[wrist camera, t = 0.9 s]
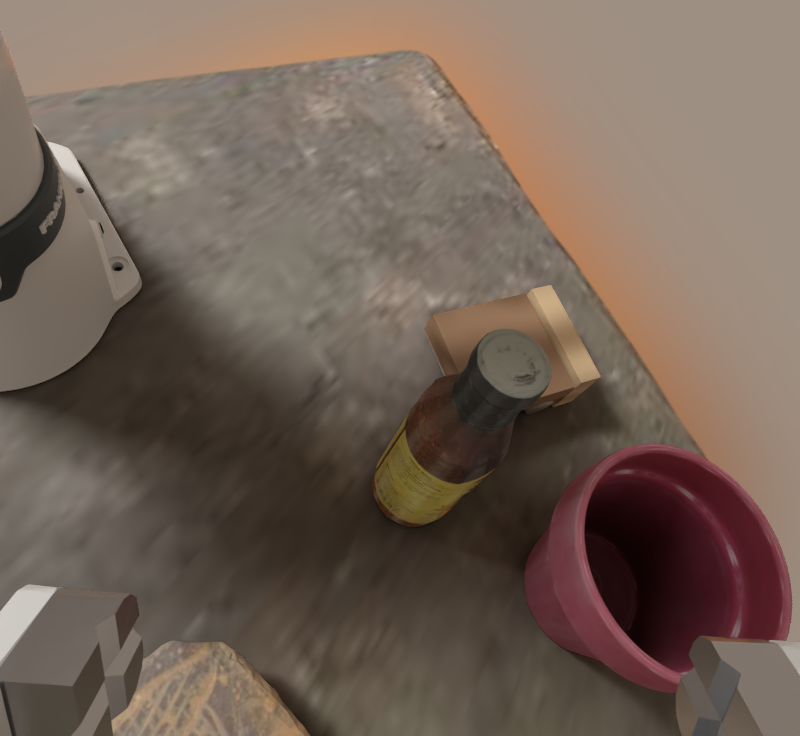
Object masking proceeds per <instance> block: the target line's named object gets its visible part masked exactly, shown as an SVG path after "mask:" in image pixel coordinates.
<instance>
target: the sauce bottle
mask: <svg viewBox="0 0 800 736" xmlns="http://www.w3.org/2000/svg"><path fill="white" fill-rule="evenodd" d="M551 376H552V368H551V363H550V360H549V358H548V356H547V354H546V353H545V351H544V349H543V348H542V347H541V346H540V345H539V344H538V343H537V342H536V341H535V340H534V339H533V338H531V337H530V336H529V335H527V334H525V333H523V332H521V331H518V330H514V329H498V330H494V331H492V332H490V333H487V334H486V335H485V336H484V337H483V338H482V339H481V340H480V342H479V343H478V344H477V345H476V347H475V348H474V349H473V351H472V352H471V354H470V358H469V361H468V364H467V366H466V368H465V369H464V371H462V372H461V373H460V374H450V375H447V376H444V377H441V378H439V379H436V380H435V382H434V383H433V384H432V385H430V386H429V387H428V388H427V389H426V391H425V392H424V393H423V395H422V396H421V398H420V400H419V401H418V402H417V403H416V404H415V405H414V406H413V407H412V409H411V410H410V412H409V413H408V415H407V417H406V418H405V420H404V421H403V423H402V425H401V426H400V428H399V430H398V431H397V433H396V434H395V436H394V437H393V439H392V441H391V442H390V444H389V445H388V447H387V449H386V450H385V452H384V454H383V455H382V457H381V458H380V460H379V462H378V464H377V466H376V471H375V474H374V476H373V480H372V487H373V494H374V498H375V499H376V502H377V504H378V506H379V508H380V509H381V511H382V512H383V513H384V515H386V516H387V517H388V518H389V519H391V520H393V521H395V522H396V523H398V524H400V525H404V526H408V527H418V526H422V525H425V524H427V523H429V522H433V521H435V520H437V519H440V518H441V517H442V516H444V515H445V514H446V513H447V512H448V511H449V510H450V509H451V508H452V507H453V506H454V505H455V504H457V503H458V502H459V501H460V500H461V499H462V498H463V497H465V496H466V495H467V494H468V493H469V492H470V491H471V490H472V489H473V488H474V487H476V486H477V485H478V484H479V483H480V482H481V481H482V480H483V479H484V478H485V477H486V476H488V475H489V474H490V473H491V472H492V471H493V470H494V469H495V468H496V467H497V466H498V465H499V464H500V463H501V462H502V460H503V459H504V458H505V456H506V454H507V452H508V450H509V447H510V443H511V438H512V432H513V427H514V422H515V418H516V417H517V415H518V414H519V413H520V412H521V411H522V410H523V409H525V408H527V407H528V406H530V405H533V404H534V403H535V402H536V401H537V400H538V399H539V398H540V396H542V394H543V393H544V392H545V390H546V389H547V387H548V385H549V383H550V379H551Z"/></svg>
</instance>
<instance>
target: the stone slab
mask: <svg viewBox="0 0 800 736" xmlns="http://www.w3.org/2000/svg"><path fill="white" fill-rule="evenodd" d="M111 723H112V730H113V736H311V735H310V734H309V733H308V732H307V730H306V729H305V727H304V726H303V725H302V724H301V723H300V722H299V721H298V720H297V718H296V717H295V716H294V714H293V713H292V711H291V710H290V709H289V708H288V707H287V706H286V705H285V704H284V702H283V701H282V700H281V698H280V697H279V695H278V693H277V691H276V690H275V689H274V688H273V687H271V686H270V685H269V684H268V683H267V682H266V681H265V680H264V679H263V678H262V676H261V675H260V674H259V673H258V672H257V671H256V670H255V669H254V667H253V666H252V665H251V664H250V663H249V662H248V661H247V660H246V658H245V657H244V656H242V655H241V654H239V653H238V652H236V651H234V650H232V649H231V648H230V647H229V646H228V645H227V644H225V643H223V642H204V643H195V642H186V641H176V640H172V641H170V642H167V643H165V644H164V645H162V646H161V647H159V648H158V649H157V650H156V651H155V652H153V653H152V654H151V655H149V656H148V657H146V658H144V659H143V661H142V669H141V673H140V677H139V681H138V684H137V688H136V691H135V693H134V695H133V698H132V700H131V702H130V704H129V706H128V708H127V709H126V710H125V711H123V712H122V713H121V714H119V715H118V716H117V717H116V718H114V719H113V720H112V721H111Z"/></svg>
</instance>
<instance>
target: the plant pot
mask: <svg viewBox="0 0 800 736" xmlns="http://www.w3.org/2000/svg"><path fill="white" fill-rule="evenodd" d="M524 585H525V594H526V598H527V602H528V605H529V608H530V610H531V612H532V614H533V616H534V618H535V620H536V622H537V623H538V625H539V626H540V628H541V629H542V630H543V632H544V633H545V634H546V635H547V636H548V637H549V638H550V639H551V640H553V641H554V642H555V643H557V644H558V645H560V646H561V647H563V648H565V649H567V650H569V651H572V652H575V653H578V654H581V655H584V656H587V657H590V658H593V659H596V660H599V661H602V662H603V663H604V664H605V665H606V666H608V667H609V668H610V669H612V670H613V671H614V672H616V673H617V674H619V675H620V676H622V677H623V678H625V679H627V680H629V681H631V682H633V683H635V684H637V685H640V686H642V687H645V688H648V689H651V690H655V691H659V692H665V693H676V692H677V689H678V685H679V682H680V678H681V677H682V676H684V675H685V674H686V673H688V672H689V671H690V670H692V669H693V668H694V665H693V663H692V661H691V659H690V657H689V652H690V650H691V647H692V644H693V642H694V641H695V640H696V639H697V638H698V637H699V636H714V637H730V638H745V639H761V640H767V641H769V640H778V641H786V639H787V636H788V633H789V628H790V623H791V614H792V593H791V584H790V577H789V573H788V568H787V565H786V561H785V558H784V556H783V552H782V549H781V547H780V544H779V542H778V540H777V538H776V535H775V533H774V531H773V530H772V528H771V526H770V524H769V523H768V521H767V519H766V517H765V516H764V515H763V513H762V511H761V510H760V509H759V507H758V506H757V504H756V503H755V502H754V501H753V499H752V498H751V497H750V496H749V495H748V494H747V492H746V491H745V490H744V489H743V488H742V487H741V486H740V485H739V484H738V483H737V482H736V481H735V480H734V479H733V478H732V477H730V476H729V475H728V474H727V473H725V472H724V471H723V470H722V469H720V468H719V467H718V466H716V465H715V464H713V463H711V462H710V461H708V460H706V459H705V458H703V457H701V456H699V455H697V454H695V453H692V452H690V451H687V450H684V449H681V448H678V447H674V446H669V445H663V444H642V445H636V446H631V447H628V448H625V449H622V450H620V451H618V452H616V453H614V454H612V455H610V456H608V457H606V458H604V459H603V460H601V461H599V462H597V463H596V464H594V465H592V466H591V467H589V468H588V469H586V470H585V471H583V472H582V473H581V474H579V475H578V476H577V477H576V478H575V479H574V480H573V481H572V482H571V483H570V484H569V485H568V487H567V488H566V489H565V491H564V492H563V494H562V496H561V497H560V499H559V501H558V503H557V505H556V508H555V510H554V513H553V516H552V519H551V524H550V525H549V527H548V528H547V529H546V531H545V532H544V533H543V535H542V536H541V538H540V539H539V540H538V541H537V543H536V544H535V545H534V547H533V548H532V550H531V552H530V554H529V557H528V559H527V562H526V567H525V574H524Z"/></svg>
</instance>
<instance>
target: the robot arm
mask: <svg viewBox="0 0 800 736" xmlns="http://www.w3.org/2000/svg"><path fill="white" fill-rule="evenodd" d="M118 267H120V268H123V269H122V270H121V271H114V269H115V268H118ZM141 287H142V280H141V277H140V275H139V272H138V270H137V268H136V267H135V265H134V263H133V261H132V259H131V257H130V256H129V254H128V252H127V250H126V248H125V247H124V245H123V243H122V241H121V239H120V237H119V236H118V234H117V232H116V230H115V228H114V227H113V225H112V223H111V221H110V219H109V217H108V216H107V214H106V212H105V210H104V208H103V207H102V205H101V203H100V201H99V199H98V197H97V196H96V194H95V192H94V190H93V188H92V187H91V185H90V183H89V181H88V179H87V177H86V176H85V174H84V172H83V170H82V168H81V167H80V165H79V163H78V161H77V159H76V158H75V156H74V154H73V153H72V151H71V150H70V149H68V148H66V147H64V146H61V145H58V144H54V143H51V142H47V141H46V139H45V138H44V136H43V134H42V132H41V131H40V129H39V128H38V127H37V126H36V125H35V124H33V122H32V119H31V116H30V113H29V110H28V106H27V103H26V100H25V97H24V94H23V91H22V88H21V85H20V82H19V79H18V76H17V72H16V69H15V66H14V63H13V60H12V57H11V54H10V51H9V48H8V45H7V43H6V40H5V38H4V36H3V35H2V34H1V32H0V392H1V391H9V390H16V389H21V388H25V387H29V386H32V385H35V384H38V383H41V382H44V381H46V380H49V379H51V378H53V377H55V376H57V375H59V374H61V373H63V372H64V371H66V370H68V369H69V368H71V367H72V366H74V365H75V364H76V363H78V362H79V361H80V360H81V359H83V358H84V357H85V356H86V355H87V354H88V353H89V352H90V351H91V350H92V349H93V347H94V346H95V345H96V344H97V342H98V341H99V340H100V338H101V337H102V335H103V333H104V331H105V330H106V328H107V326H108V324H109V322H110V320H111V318H112V317H113V315H114V314H115V312H116V311H117V310H118V309H119V308H121V307H122V306H123V305H125V304H126V303H127V302H128V301H130V300H131V299H132V298H133V297H134V296H135V295H136V294H137V293H138V292H139V291H140V289H141ZM138 616H139V609H138V603H137V597H136V596H134V595H132V594H126V593H116V592H106V591H96V590H86V589H76V588H66V587H63V588H58V587H49V586H39V585H29V584H28V585H27V586H25V587H23V588H21V589H19V590H18V591H17V592H16V593H15V594H14V595H13V596H12V598H11V599H10V600H9V601H8V603H7V604H6V605H5V606H4V607H3V609H2V610H1V611H0V736H113V730H112V723H111V721H112V720H113V719H114V718H116V717H117V716H118V715H119V714H121V713H122V712H123V711H125V710H126V709H127V708H128V706H129V704H130V702H131V700H132V698H133V695H134V693H135V691H136V688H137V684H138V681H139V677H140V673H141V669H142V661H143V643H142V637H141V636H140V635H139V634H138V633H137V632H136V631H135V630H134V629H133V626H134V624H135V622H136V620H137V618H138ZM689 657H690V659H691V661H692V663H693V665H694V668H693V669H692V670H690V671H689V672H688V673H686V674H685V675H684V676H682V677H681V678H680V682H679V685H678V689H677V692H676V716H677V721H678V725H679V729H680V732H681V735H682V736H800V642H794V641H778V640H769V641H767V640H761V639H745V638H730V637H714V636H699V637H698V638H697V639H696V640H695V641H694V642H693V644H692V647H691V650H690V652H689Z"/></svg>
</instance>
